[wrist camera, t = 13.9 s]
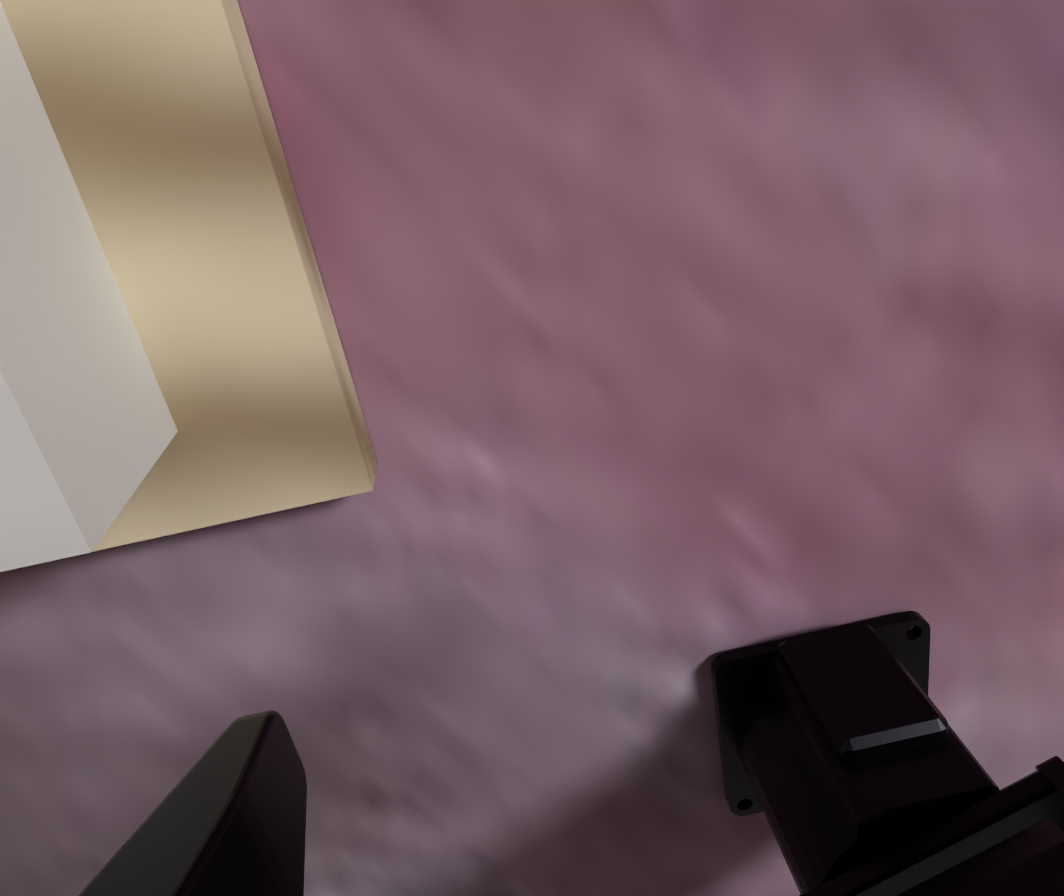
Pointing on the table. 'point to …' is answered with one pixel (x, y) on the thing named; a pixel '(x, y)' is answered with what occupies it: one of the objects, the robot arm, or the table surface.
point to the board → (201, 256)
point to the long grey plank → (61, 350)
